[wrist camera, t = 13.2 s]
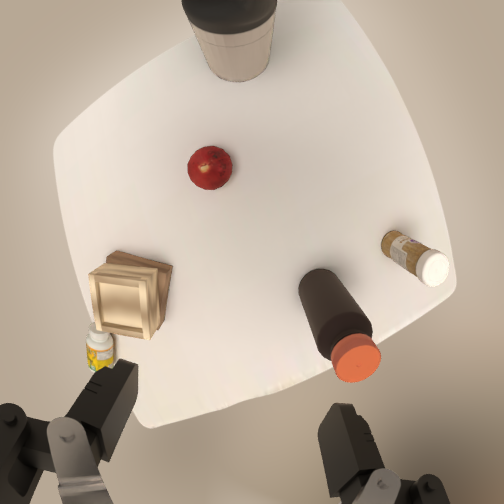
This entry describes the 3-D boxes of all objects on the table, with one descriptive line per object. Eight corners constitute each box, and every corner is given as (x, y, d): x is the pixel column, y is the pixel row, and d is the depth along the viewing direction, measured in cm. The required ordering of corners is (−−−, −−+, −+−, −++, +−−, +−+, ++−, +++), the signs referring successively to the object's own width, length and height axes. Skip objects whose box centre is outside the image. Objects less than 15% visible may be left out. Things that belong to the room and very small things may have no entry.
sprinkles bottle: (403, 228, 42) (451, 250, 29) (403, 255, 43) (448, 284, 30) (379, 232, 42) (424, 256, 29) (380, 259, 43) (421, 291, 30)
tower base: (117, 249, 43) (106, 256, 39) (173, 265, 44) (166, 273, 40) (113, 302, 46) (103, 312, 42) (164, 318, 46) (158, 330, 43)
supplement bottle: (116, 374, 46) (116, 335, 44) (91, 377, 43) (88, 338, 40) (109, 356, 50) (109, 318, 47) (85, 358, 46) (83, 320, 44)
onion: (214, 140, 38) (205, 132, 31) (242, 168, 39) (239, 166, 32) (186, 169, 39) (170, 168, 32) (213, 196, 41) (204, 201, 33)
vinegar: (310, 261, 43) (351, 327, 24) (346, 278, 44) (401, 346, 25) (290, 298, 45) (313, 381, 25) (326, 313, 45) (364, 394, 26)
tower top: (104, 262, 40) (88, 274, 35) (157, 268, 40) (145, 281, 35) (110, 314, 42) (96, 330, 37) (160, 322, 42) (150, 340, 37)
